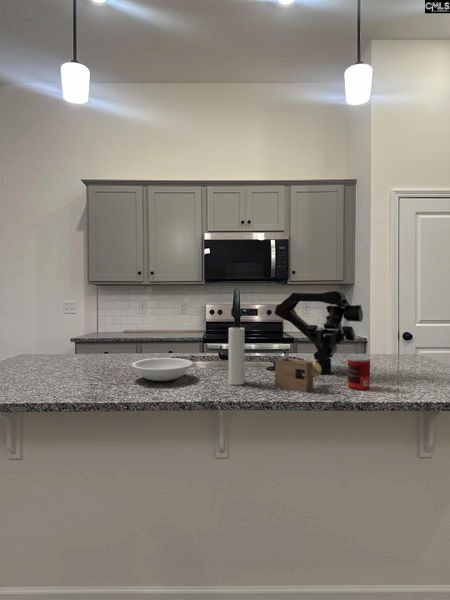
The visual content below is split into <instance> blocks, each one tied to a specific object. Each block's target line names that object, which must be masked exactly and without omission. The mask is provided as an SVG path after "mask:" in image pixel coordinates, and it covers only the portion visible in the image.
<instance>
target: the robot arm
mask: <svg viewBox="0 0 450 600" xmlns="http://www.w3.org/2000/svg"><path fill="white" fill-rule="evenodd" d="M300 302H311V303H312V302H314V303H315V302H316V303H317V302H319V303H325V304H328V305H327V306H326V307H325V308H326V310H327V313H328V315H327V316H326V317H325V318H326V322H325V323H323V327H320V326H318V324H308V323H307V322H306V320H305V321H304V319H302V318H301V317H300V316H299V315H298V314H297V312H296V310H295V308H297V306H298V304H299V303H300ZM274 313H275V314H276V316H277V317H279V318H280V319H282V320H285V321H286V322H289V323H290V324H291V325H293V326H294V327H295V328H296V329H298V331H300V332H301V333H302V334H303V335H304V336H305V337H307V339H309V340H310V341H311V342H312V344H313V345H314V346H315V348H316V350H317V351H316V352H314V353H313V358H314V359H315V360H316V362H318V363H319V364H320V366H321V369H322V370H321V373H320V375H331V374H335V372H334V371H332V358H333V356H334V355H335V354H336V353H337V350H338V346H337V345H340V344H341V343H342V342H344V341H345V340H346V341H355V339H356V333H355V331H354V328H353V326H351V325H350V326H349V325H348V326H345V325H342V321H343V319H344V320H345V321H346V322H357V323H359V322H360V323H361V322H362V321H363V319H364V318H363V317H364V312H363V308H362V304H357V305H355V304H354V305H351V304H350V303H349V301H348V300H347V299H346V294H345V293H344V292H343V291H341V290H333V291H327V292H322V293H319V292H317V293H314V292H313V293H312V292H311V293H309V292H307V293H306V292H305V293H304V292H303V293H301V292H292V293H291V294H290V295H289V296H288V297H287V298H286V299H284V300H283V301H282V302H281V303H280V304H278V305H276V307H275V312H274Z"/></svg>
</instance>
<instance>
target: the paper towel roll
mask: <svg viewBox="0 0 450 600" xmlns="http://www.w3.org/2000/svg"><path fill="white" fill-rule="evenodd" d="M245 329H246V328H245V327H242V326H241V327H240V326H234V327H229V328H228V384H229V385H233V386H240V385H244V384H245Z"/></svg>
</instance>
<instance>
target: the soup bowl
mask: <svg viewBox="0 0 450 600" xmlns="http://www.w3.org/2000/svg"><path fill="white" fill-rule="evenodd" d="M192 365H194V363H193V361H192V360H189V359H186V358H177V357H155V358H154V357H153V358H146V359H140V360H137V361H134V362H132V363H131V367H132V368H134V369H136V372H137V373H138V375H140V376H141V377H142V378H144V379H146V380H149V381H156V382H157V381H158V382H163V381H164V382H165V381H167V382H168V381H172V380H175V379H179V378H181V377H182V376H184V374H185V373H187V371H188V369H189V368H190V367H191V366H192Z"/></svg>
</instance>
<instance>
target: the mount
mask: <svg viewBox="0 0 450 600" xmlns="http://www.w3.org/2000/svg"><path fill="white" fill-rule="evenodd" d="M303 370H305V375H304V374H303ZM274 388H277V389H278V388H279V389H284V390H289V391H296V392H300V393H308V392H310V391H312V390H314V377H313V361H311V360H305V359H295V358H289V360H288V361H282V360H281V358H278V359H275V360H274Z"/></svg>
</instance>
